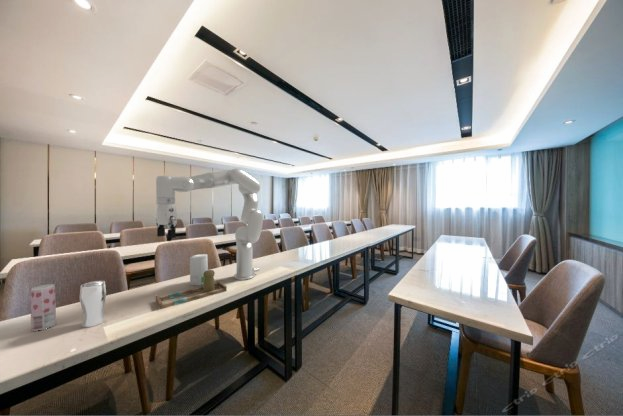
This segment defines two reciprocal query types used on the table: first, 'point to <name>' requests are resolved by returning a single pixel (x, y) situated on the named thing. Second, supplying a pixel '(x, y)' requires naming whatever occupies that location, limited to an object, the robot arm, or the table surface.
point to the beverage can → (43, 307)
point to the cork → (208, 281)
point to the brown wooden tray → (183, 300)
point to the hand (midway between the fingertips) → (166, 237)
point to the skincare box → (198, 269)
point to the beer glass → (92, 302)
